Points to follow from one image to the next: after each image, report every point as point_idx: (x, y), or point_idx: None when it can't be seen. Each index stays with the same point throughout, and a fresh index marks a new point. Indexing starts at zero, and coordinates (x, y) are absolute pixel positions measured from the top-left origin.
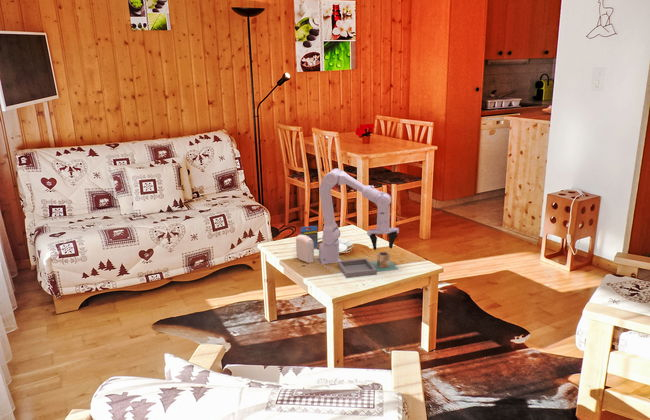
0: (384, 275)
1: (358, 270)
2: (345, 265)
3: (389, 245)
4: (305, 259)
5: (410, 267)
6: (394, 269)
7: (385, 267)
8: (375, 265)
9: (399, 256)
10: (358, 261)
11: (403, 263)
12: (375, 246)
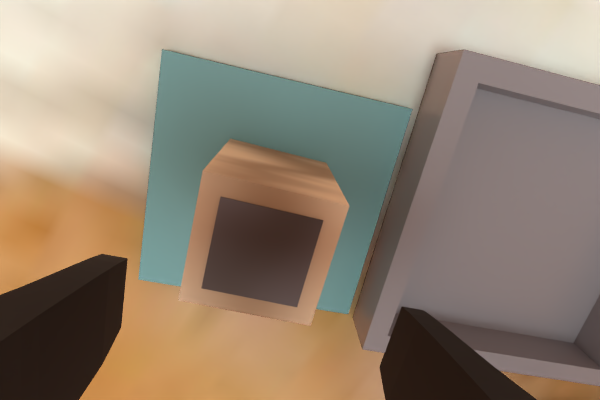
0: (375, 3)
1: (519, 213)
2: (537, 338)
3: (103, 338)
4: None
5: (6, 49)
6: (210, 63)
7: (271, 149)
8: None
9: None
10: None
11: (37, 175)
12: (462, 348)
